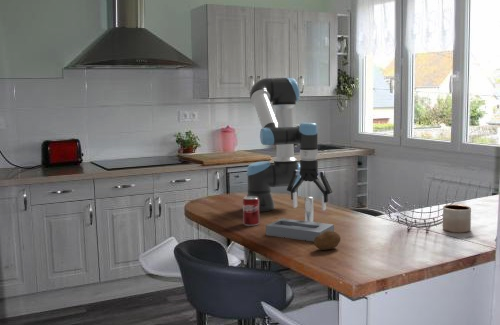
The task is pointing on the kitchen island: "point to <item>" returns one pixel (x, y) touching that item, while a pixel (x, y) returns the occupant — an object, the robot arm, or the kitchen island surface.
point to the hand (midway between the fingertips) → (309, 208)
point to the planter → (456, 218)
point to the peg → (309, 209)
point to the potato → (327, 240)
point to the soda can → (251, 211)
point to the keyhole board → (297, 229)
